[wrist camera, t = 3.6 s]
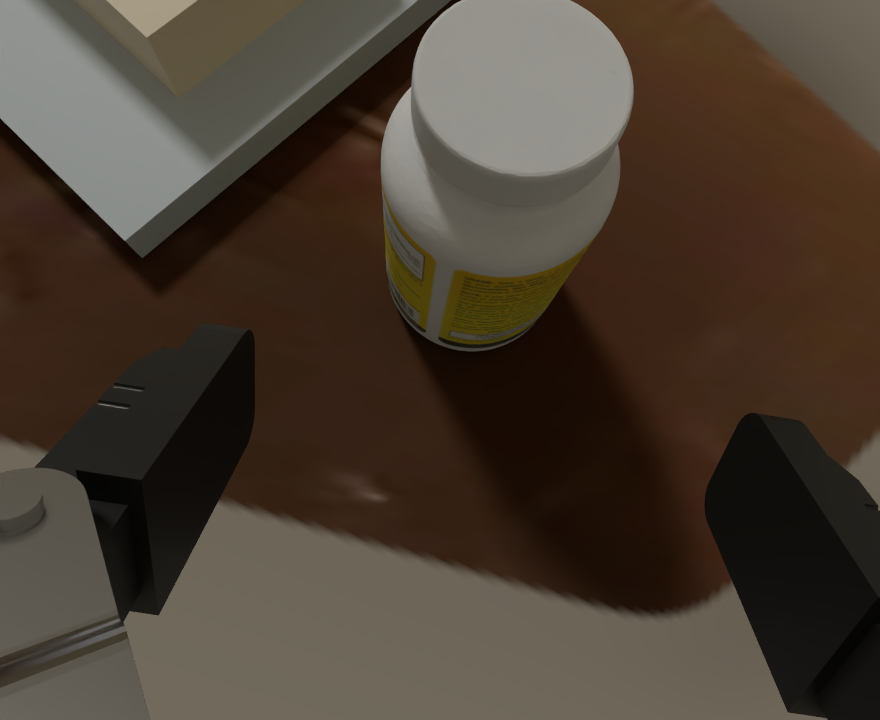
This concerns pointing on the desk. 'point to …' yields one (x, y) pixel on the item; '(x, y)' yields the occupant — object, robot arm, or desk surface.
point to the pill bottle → (500, 165)
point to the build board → (169, 136)
